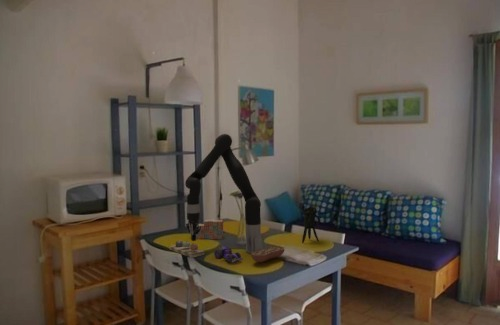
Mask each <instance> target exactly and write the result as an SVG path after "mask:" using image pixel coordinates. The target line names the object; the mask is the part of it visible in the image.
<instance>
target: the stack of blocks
mask: <svg viewBox="0 0 500 325" xmlns="http://www.w3.org/2000/svg"><path fill="white" fill-rule="evenodd" d="M198 225H199V226H201V229H200V231H199V233H198V234H196V240H223V238H224V220H223V219H205V220H204V221H203V223H199V224H198Z"/></svg>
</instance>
